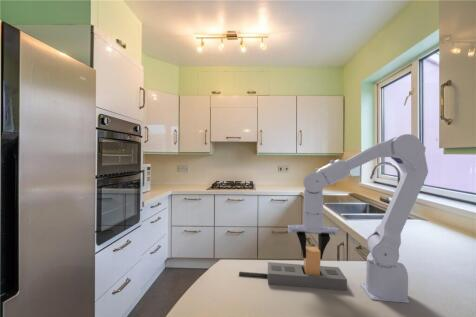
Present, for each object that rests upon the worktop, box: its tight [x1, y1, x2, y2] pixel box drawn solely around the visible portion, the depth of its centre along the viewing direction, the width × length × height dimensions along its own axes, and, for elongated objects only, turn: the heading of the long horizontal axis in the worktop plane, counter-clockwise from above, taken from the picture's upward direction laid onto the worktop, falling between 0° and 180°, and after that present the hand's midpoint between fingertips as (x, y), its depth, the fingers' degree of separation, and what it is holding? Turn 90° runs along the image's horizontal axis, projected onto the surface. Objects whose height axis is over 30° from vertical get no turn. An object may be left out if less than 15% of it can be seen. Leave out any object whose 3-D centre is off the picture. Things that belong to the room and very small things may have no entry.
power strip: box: [238, 261, 348, 291], centre depth 75 cm, size 31×8×3 cm, turn 84°
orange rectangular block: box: [303, 245, 321, 275], centre depth 74 cm, size 4×4×7 cm
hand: (312, 257), depth 74 cm, fingers closed on orange rectangular block, 4 cm apart
